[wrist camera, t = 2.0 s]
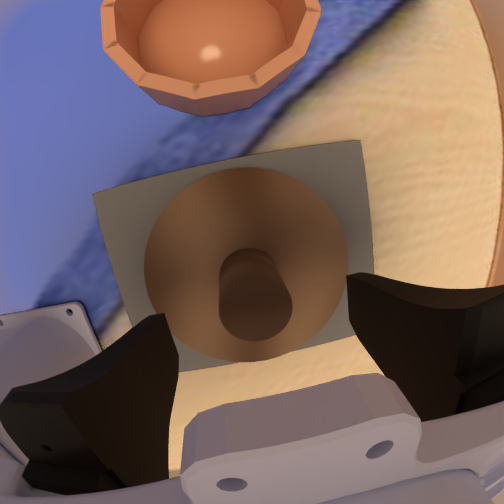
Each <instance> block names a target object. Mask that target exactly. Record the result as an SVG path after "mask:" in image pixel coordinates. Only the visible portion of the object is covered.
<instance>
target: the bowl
mask: <svg viewBox="0 0 504 504" xmlns="http://www.w3.org/2000/svg"><path fill="white" fill-rule="evenodd" d="M321 12H322V11H321V8H320V5H319V2H318V0H104V1H103V3H102V5H101V26H102V39H103V50H104V51H105V52H106V53H107V54H108V55H109V56H110V57H111V58H112V59H113V60H114V61H115V63H117V65H118V66H119V67H120V68H121V69H122V70H123V71H124V72H125V73H126V74H127V75H128V76H129V77H130V78H131V79H132V80H133V81H134V82H135V83H136V85H138V86H139V87H140V88H141V89H142V90H143V91H145V92H146V93H147V94H148V95H149V96H150V97H151V98H152V99H153V100H155V101H156V102H157V103H158V104H160V105H164V106H167V107H170V108H172V109H175V110H178V111H181V112H185V113H190V114H196V115H199V116H207V115H218V114H226V113H230V112H234V111H237V110H240V109H244V108H249V107H251V106H252V105H253V104H254V103H256V102H257V101H259V100H260V99H262V98H263V97H265V96H266V95H267V94H268V93H270V92H271V91H272V90H273V89H274V88H275V87H277V86H278V85H279V84H281V83H282V82H284V81H285V79H286V78H287V77H288V76H289V74H290V73H291V72H292V71H293V69H294V68H295V67H296V66H297V64H298V63H299V62H300V61H301V59H302V58H303V57H304V56H305V54H306V51H307V49H308V46H309V44H310V41H311V38H312V36H313V33H314V30H315V28H316V25H317V23H318V20H319V18H320V15H321Z"/></svg>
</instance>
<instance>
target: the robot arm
mask: <svg viewBox="0 0 504 504" xmlns="http://www.w3.org/2000/svg"><path fill="white" fill-rule="evenodd" d="M346 282H347V297H348V313H349V322H350V324H351V326H352V328H353V330H354V332H355V334H356V335H357V337H358V339H359V340H360V342H361V343H362V345H363V346H364V347H365V349H366V350H367V352H368V353H369V354H370V356H371V357H372V358H373V360H374V361H375V362H376V364H377V365H378V367H379V368H380V369H381V371H382V372H383V374H384V375H385V376H383V375H381V374H379V373H372V374H362V375H351V376H348V377H345V378H341V379H338V380H334V381H330V382H327V383H323V384H319V385H315V386H311V387H307V388H303V389H299V390H295V391H290V392H286V393H281V394H276V395H272V396H267V397H262V398H256V399H251V400H245V401H240V402H234V403H227V404H223V405H220V406H217V407H215V408H212V409H209V410H206V411H203V412H200V413H198V414H197V415H196V416H195V417H194V418H193V419H192V421H191V422H190V423H189V424H188V425H187V426H186V427H185V429H184V439H183V449H182V460H181V471H180V476H178V477H174V478H171V479H169V469H168V443H169V425H170V417H171V412H172V407H173V401H174V396H175V391H176V386H177V381H178V374H179V354H178V351H177V348H176V345H175V343H174V340H173V337H172V334H171V331H170V328H169V325H168V322H167V319H166V316H165V313H160V314H154V315H149V316H148V317H146V318H144V319H143V320H142V321H140V322H139V323H138V324H137V325H135V326H134V327H133V328H132V329H130V330H129V331H128V332H127V333H126V334H124V335H123V336H122V337H121V338H119V339H118V340H117V341H115V342H114V343H113V344H111V345H110V346H109V347H107V348H106V349H105V350H103V351H102V350H101V348H100V346H99V343H98V341H97V339H96V336H95V334H94V332H93V329H92V327H91V325H90V322H89V320H88V317H87V315H86V312H85V310H84V307H83V306H82V304H80V303H79V302H70V303H65V304H59V305H54V306H48V307H43V308H37V309H31V310H26V311H20V312H15V313H9V314H3V315H0V504H494V503H493V501H492V499H493V498H494V497H496V496H497V495H498V494H500V493H501V492H502V491H503V490H504V285H500V286H494V287H487V288H477V289H443V288H434V287H426V286H419V285H415V284H410V283H405V282H401V281H397V280H393V279H389V278H385V277H382V276H378V275H374V274H370V273H365V272H358V273H354V274H350V275H346ZM68 308H69V309H71V310H72V312H73V313H71V312H70V311H69V310H68Z"/></svg>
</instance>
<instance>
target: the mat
mask: <svg viewBox="0 0 504 504" xmlns="http://www.w3.org/2000/svg"><path fill="white" fill-rule="evenodd" d="M236 168H259V169H266V170H272V171H275V172H279V173H282V174H285V175H288V176H290V177H292V178H294V179H296V180H299V181H300V182H302V183H303V184H305V185H306V186H308V187H310V188H311V189H312V190H313V191H314V192H316V193H317V194H318V195H319V196H320V197H321V198H322V199H323V200H324V201H325V202H326V204H327V205H328V206H329V207H330V208H331V210H332V211H333V213H334V215H335V216H336V218H337V220H338V222H339V224H340V226H341V228H342V231H343V234H344V237H345V240H346V245H347V251H348V274H347V275H350V274H354V273H358V272H365V273H370V274H374V259H373V243H372V230H371V219H370V208H369V199H368V190H367V182H366V174H365V167H364V160H363V153H362V147H361V141H360V140H354V141H345V142H336V143H328V144H320V145H313V146H306V147H299V148H292V149H285V150H279V151H273V152H267V153H261V154H255V155H250V156H244V157H239V158H234V159H229V160H224V161H219V162H214V163H209V164H205V165H200V166H195V167H191V168H187V169H182V170H178V171H174V172H170V173H166V174H162V175H158V176H154V177H150V178H146V179H142V180H138V181H135V182H131V183H127V184H124V185H120V186H117V187H113V188H110V189H106V190H103V191H100V192H96V193H93V194H92V196H93V199H94V204H95V208H96V212H97V216H98V220H99V224H100V228H101V232H102V235H103V239H104V242H105V246H106V249H107V253H108V256H109V260H110V263H111V266H112V269H113V272H114V276H115V279H116V282H117V285H118V288H119V291H120V294H121V297H122V299H123V302H124V305H125V308H126V311H127V313H128V316H129V319H130V322H131V324H132V327H134V326H135V325H137V324H138V323H139V322H140V321H142V320H143V319H144V318H146V317H148V316H149V315H154V314H156V312H155V310H154V308H153V306H152V304H151V301H150V299H149V296H148V293H147V289H146V285H145V277H144V256H145V251H146V245H147V242H148V239H149V236H150V233H151V230H152V228H153V226H154V224H155V222H156V220H157V218H158V217H159V216H160V214H161V213H162V211H163V210H164V208H165V207H166V206H167V205H168V204H169V203H170V202H171V201H172V199H173V198H174V197H175V196H177V195H178V194H179V193H180V192H181V191H183V190H184V189H185V188H186V187H188V186H190V185H191V184H193V183H194V182H196V181H198V180H199V179H201V178H204V177H206V176H208V175H211V174H213V173H217V172H220V171H224V170H228V169H236ZM171 334H172V333H171ZM353 335H356V334H355V332H354V330H353V328H352V326H351V324H350V322H349V313H348V297H347V282H346V285H345V289H344V292H343V295H342V297H341V300H340V302H339V304H338V306H337V308H336V310H335V312H334V313H333V315H332V316H331V318H330V319H329V320H328V322H327V323H326V324H325V325H324V327H323V328H322V329H321V330H320V331H319V332H318V333H317V334H316V335H314V336H313V337H312V338H311V339H310V340H309V341H307V342H306V343H304V344H303V345H301V346H300V347H298V348H296V349H294V350H292V351H296V350H300V349H304V348H308V347H312V346H316V345H320V344H324V343H328V342H332V341H335V340H339V339H343V338H346V337H350V336H353ZM172 337H173V340H174V343H175V345H176V348H177V351H178V354H179V372H184V371H191V370H198V369H204V368H210V367H216V366H222V365H228V364H233V363H239V362H232V361H225V360H220V359H216V358H213V357H210V356H207V355H204V354H202V353H200V352H198V351H195V350H194V349H192V348H190V347H189V346H187V345H185V344H184V343H183V342H181V341H180V340H179V339H178V338H176V337H175V336H174V335H173V334H172ZM290 352H291V351H290Z"/></svg>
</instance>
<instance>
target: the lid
mask: <svg viewBox="0 0 504 504" xmlns="http://www.w3.org/2000/svg"><path fill="white" fill-rule="evenodd" d="M347 274H348V251H347V245H346V240H345V237H344V234H343V231H342V228H341V226H340V224H339V222H338V220H337V218H336V216H335V215H334V213H333V211H332V210H331V208H330V207H329V206H328V205H327V204H326V202H325V201H324V200H323V199H322V198H321V197H320V196H319V195H318V194H317V193H316V192H314V191H313V190H312V189H311V188H310V187H308V186H306V185H305V184H303V183H302V182H300V181H299V180H296V179H294V178H292V177H290V176H288V175H285V174H282V173H279V172H275V171H272V170H266V169H259V168H236V169H228V170H224V171H220V172H217V173H213V174H211V175H208V176H206V177H204V178H201V179H199V180H198V181H196V182H194V183H193V184H191V185H190V186H188V187H186V188H185V189H184V190H183V191H181V192H180V193H179V194H178V195H177V196H175V197H174V198H173V199H172V201H171V202H170V203H169V204H168V205H167V206H166V207H165V208H164V210H163V211H162V213H161V214H160V216H159V217H158V218H157V220H156V222H155V224H154V226H153V228H152V230H151V233H150V236H149V239H148V242H147V245H146V251H145V256H144V277H145V285H146V289H147V293H148V296H149V299H150V301H151V304H152V306H153V308H154V310H155V312H156V314H160V313H165V316H166V319H167V322H168V325H169V328H170V331H171V333H172V334H173V335H174V336H175V337H176V338H178V339H179V340H180V341H181V342H183V343H184V344H185V345H187V346H189V347H190V348H192V349H194V350H195V351H198V352H200V353H202V354H204V355H207V356H210V357H213V358H216V359H220V360H225V361H232V362H255V361H262V360H267V359H271V358H275V357H278V356H281V355H283V354H286V353H288V352H290V351H292V350H294V349H296V348H298V347H300V346H301V345H303V344H304V343H306V342H307V341H309V340H310V339H311V338H312V337H313V336H314V335H316V334H317V333H318V332H319V331H320V330H321V329H322V328H323V327H324V325H325V324H326V323H327V322H328V320H329V319H330V318H331V316H332V315H333V313H334V312H335V310H336V308H337V306H338V304H339V302H340V300H341V297H342V295H343V292H344V289H345V285H346V275H347Z"/></svg>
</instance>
